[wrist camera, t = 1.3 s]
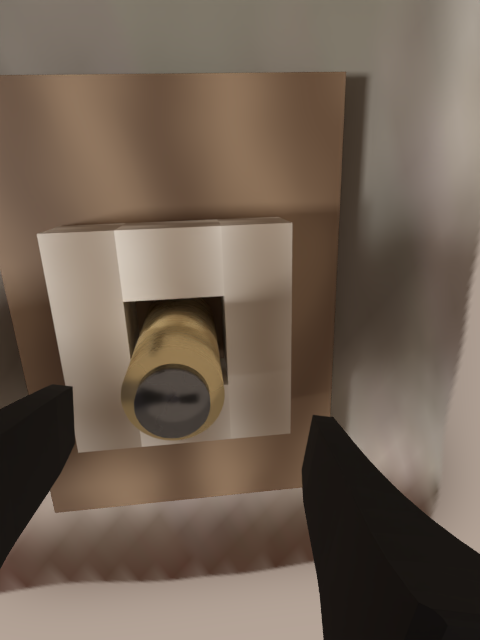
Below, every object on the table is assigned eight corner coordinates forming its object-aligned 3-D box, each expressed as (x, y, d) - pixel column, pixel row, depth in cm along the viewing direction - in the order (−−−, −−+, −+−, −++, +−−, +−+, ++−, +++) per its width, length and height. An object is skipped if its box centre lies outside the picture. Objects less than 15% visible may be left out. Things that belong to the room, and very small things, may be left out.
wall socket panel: (63, 493, 25) (36, 558, 21) (-25, 84, 18) (-93, 53, 13) (319, 468, 26) (344, 523, 22) (334, 80, 19) (374, 51, 15)
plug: (149, 356, 21) (124, 456, 13) (142, 292, 20) (110, 361, 12) (216, 351, 21) (228, 446, 14) (212, 288, 20) (223, 352, 13)
